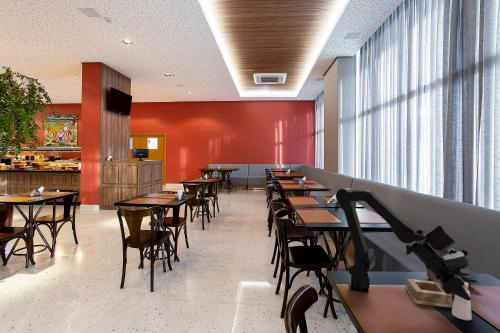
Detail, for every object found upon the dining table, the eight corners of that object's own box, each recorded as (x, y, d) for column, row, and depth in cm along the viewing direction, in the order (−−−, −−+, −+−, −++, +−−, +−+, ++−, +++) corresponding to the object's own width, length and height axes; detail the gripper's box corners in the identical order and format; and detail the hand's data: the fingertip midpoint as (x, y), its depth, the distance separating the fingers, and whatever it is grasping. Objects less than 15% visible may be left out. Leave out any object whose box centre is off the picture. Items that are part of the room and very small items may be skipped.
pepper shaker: (448, 314, 93) (450, 281, 93) (454, 309, 97) (456, 277, 96) (468, 322, 89) (470, 288, 89) (474, 317, 92) (476, 283, 92)
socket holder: (415, 303, 100) (416, 292, 100) (404, 288, 112) (405, 278, 112) (454, 307, 98) (454, 296, 98) (438, 291, 110) (439, 281, 109)
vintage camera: (479, 293, 110) (484, 242, 110) (435, 287, 113) (439, 237, 113) (466, 283, 120) (470, 236, 119) (425, 277, 123) (429, 232, 122)
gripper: (457, 251, 85) (502, 296, 81) (444, 236, 102) (481, 272, 98) (425, 272, 89) (467, 316, 85) (418, 254, 106) (452, 290, 102)
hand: (467, 297), depth 92 cm, fingers closed on pepper shaker, 4 cm apart
